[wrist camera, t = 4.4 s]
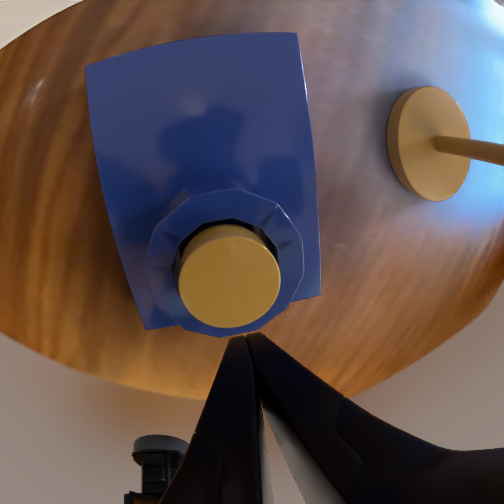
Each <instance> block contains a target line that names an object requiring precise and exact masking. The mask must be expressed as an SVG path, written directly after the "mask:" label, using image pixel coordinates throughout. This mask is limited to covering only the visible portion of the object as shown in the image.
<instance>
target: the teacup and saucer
mask: <svg viewBox="0 0 504 504" xmlns="http://www.w3.org/2000/svg"><path fill="white" fill-rule="evenodd" d="M80 1H82V0H0V49H2V48H3V47H4V46H6V45H7V44H8V43H10V42H11V41H13V40H14V39H15V38H17V37H18V36H20V35H21V34H23V33H24V32H26V31H28V30H29V29H31V28H32V27H34V26H35V25H37V24H39V23H40V22H42V21H44V20H46V19H47V18H49V17H51V16H53V15H55V14H56V13H58V12H60V11H62V10H64V9H66V8H68V7H70V6H72V5H74V4H76V3H78V2H80Z"/></svg>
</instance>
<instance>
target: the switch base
mask: <svg viewBox="0 0 504 504" xmlns="http://www.w3.org/2000/svg"><path fill="white" fill-rule="evenodd" d="M85 77H86V90H87V100H88V109H89V118H90V125H91V132H92V139H93V145H94V151H95V157H96V162H97V168H98V173H99V178H100V182H101V187H102V192H103V196H104V200H105V204H106V209H107V213H108V217H109V220H110V224H111V228H112V232H113V235H114V239H115V242H116V246H117V249H118V253H119V256H120V259H121V262H122V266H123V269H124V272H125V275H126V278H127V281H128V284H129V287H130V290H131V292H132V295H133V298H134V301H135V304H136V306H137V309H138V312H139V314H140V317H141V319H142V322H143V325H144V327H145V330H152V329H158V328H164V327H170V326H176V325H180V326H181V327H182V328H184V329H185V330H189V331H193V332H197V333H201V334H205V335H210V336H214V337H218V338H220V337H227V336H232V335H236V334H241V333H246V332H251V331H255V330H257V329H260V328H261V327H262V326H264V325H265V324H266V323H268V322H269V321H270V320H272V319H273V318H275V317H276V316H277V315H279V314H280V313H281V312H283V311H284V310H285V309H286V308H287V307H288V306H289V304H290V302H294V301H298V300H302V299H306V298H310V297H315V296H319V295H321V259H320V234H319V215H318V199H317V185H316V173H315V162H314V151H313V142H312V132H311V124H310V115H309V107H308V100H307V93H306V86H305V79H304V72H303V66H302V60H301V54H300V48H299V42H298V37H297V33H284V32H269V33H242V34H228V35H218V36H209V37H201V38H194V39H187V40H181V41H176V42H170V43H165V44H160V45H156V46H151V47H147V48H143V49H139V50H135V51H131V52H127V53H124V54H120V55H117V56H114V57H110V58H107V59H104V60H101V61H98V62H95V63H92V64H90V65H87V66H85ZM220 224H235V225H240V226H243V227H245V228H248V229H250V230H251V231H253V232H255V233H256V234H257V235H258V236H259V237H260V238H261V239H262V240H263V241H264V243H265V244H266V246H267V247H268V249H269V250H270V252H271V253H272V255H273V256H274V258H275V259H276V261H277V263H278V266H279V269H280V275H281V283H280V289H279V293H278V295H277V298H276V300H275V302H274V303H273V305H272V306H271V307H270V309H269V310H268V311H267V312H266V313H265V314H264V315H262V316H261V317H260V318H258V319H257V320H255V321H253V322H251V323H249V324H246V325H243V326H240V327H234V328H219V327H214V326H211V325H208V324H205V323H203V322H201V321H199V320H198V319H196V318H195V317H194V316H193V315H192V314H191V313H190V312H189V311H188V310H187V309H186V307H185V306H184V304H183V302H182V300H181V297H180V294H179V288H178V281H179V270H180V261H181V257H182V254H183V251H184V249H185V247H186V246H187V244H188V243H189V242H190V240H191V239H192V238H193V237H194V236H195V235H197V234H198V233H199V232H201V231H203V230H204V229H206V228H209V227H211V226H215V225H220Z"/></svg>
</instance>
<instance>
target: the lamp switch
mask: <svg viewBox="0 0 504 504" xmlns="http://www.w3.org/2000/svg"><path fill="white" fill-rule="evenodd" d="M280 283H281V275H280V269H279V266H278V263H277V261H276V259H275V258H274V256H273V255H272V253H271V252H270V250H269V249H268V247H267V246H266V244H265V243H264V241H263V240H262V239H261V238H260V237H259V236H258V235H257V234H256V233H255V232H253V231H251V230H250V229H248V228H245V227H243V226H240V225H235V224H220V225H215V226H211V227H209V228H206V229H204V230H203V231H201V232H199V233H198V234H197V235H195V236H194V237H193V238H192V239H191V240H190V242H189V243H188V244H187V246H186V247H185V249H184V251H183V254H182V257H181V261H180V270H179V281H178V288H179V294H180V297H181V300H182V302H183V304H184V306H185V307H186V309H187V310H188V311H189V312H190V313H191V314H192V315H193V316H194V317H195V318H196V319H198V320H199V321H201V322H203V323H205V324H208V325H211V326H214V327H219V328H234V327H240V326H243V325H246V324H249V323H251V322H253V321H255V320H257V319H258V318H260V317H261V316H262V315H264V314H265V313H266V312H267V311H268V310H269V309H270V307H271V306H272V305H273V303H274V302H275V300H276V298H277V295H278V293H279V289H280Z"/></svg>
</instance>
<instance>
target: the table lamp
mask: <svg viewBox="0 0 504 504" xmlns="http://www.w3.org/2000/svg"><path fill="white" fill-rule="evenodd" d="M387 147H388V153H389V158H390V161H391V165H392V167H393V170H394V172H395V174H396V176H397V178H398V179H399V181H400V182H401V184H402V185H403V186H404V187H405V188H406V189H407V190H408V191H409V192H410V193H412V194H414V195H415V196H418V197H421V198H424V199H427V200H429V201H443V200H446V199H448V198H450V197H451V196H453V195H454V194H455V193H456V192H457V191H458V190H459V188H460V187H461V185H462V184H463V182H464V180H465V178H466V175H467V173H468V170H469V166H470V160H471V159H475V160H480V161H484V162H489V163H493V164H497V165H501V166H504V145H503V144H498V143H492V142H486V141H480V140H474V139H471V136H470V131H469V127H468V123H467V120H466V118H465V115H464V113H463V111H462V109H461V108H460V106H459V105H458V103H457V102H456V101H455V100H454V98H453V97H452V96H451V95H449V94H448V93H447V92H445V91H444V90H442V89H440V88H437V87H433V86H425V87H416V88H412V89H409V90H407V91H406V92H404V93H403V94H402V95H401V96H400V97H399V98H398V99H397V101H396V102H395V104H394V106H393V108H392V110H391V113H390V116H389V120H388V126H387Z"/></svg>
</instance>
